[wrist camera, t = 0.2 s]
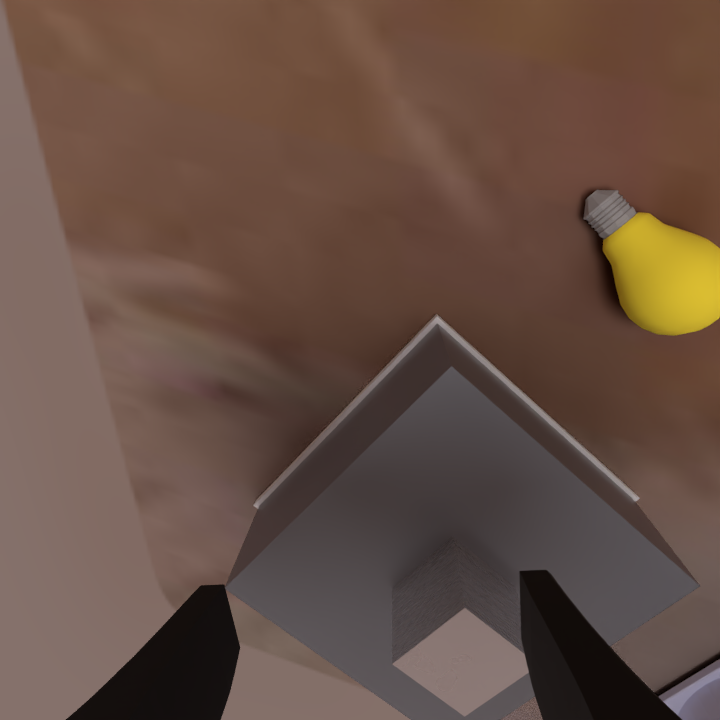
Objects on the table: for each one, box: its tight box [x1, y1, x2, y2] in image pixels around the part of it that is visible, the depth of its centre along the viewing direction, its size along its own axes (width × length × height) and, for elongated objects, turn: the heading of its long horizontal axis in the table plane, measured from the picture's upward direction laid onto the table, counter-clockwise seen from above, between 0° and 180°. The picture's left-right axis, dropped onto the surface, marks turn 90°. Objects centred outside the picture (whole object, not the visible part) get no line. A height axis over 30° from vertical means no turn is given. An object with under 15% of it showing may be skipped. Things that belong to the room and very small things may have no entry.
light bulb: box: [583, 189, 720, 335], centre depth 17 cm, size 3×6×4 cm, turn 43°
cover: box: [225, 323, 700, 720], centre depth 18 cm, size 12×12×8 cm
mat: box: [253, 314, 639, 509], centre depth 22 cm, size 12×12×1 cm
